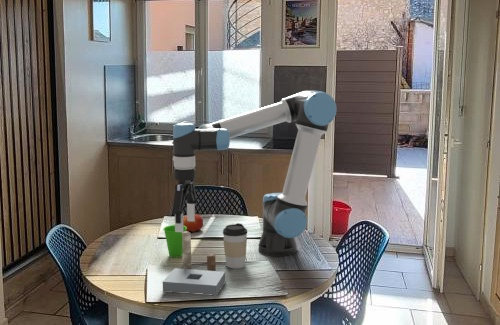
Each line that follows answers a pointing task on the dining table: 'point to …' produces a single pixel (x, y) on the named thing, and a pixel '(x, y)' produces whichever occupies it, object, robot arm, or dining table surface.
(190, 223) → the tomato
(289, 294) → the dining table surface
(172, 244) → the cup
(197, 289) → the grey block with hole
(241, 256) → the coffee cup
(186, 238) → the long pin
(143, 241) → the dining table surface
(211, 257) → the short pin
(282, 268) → the dining table surface
